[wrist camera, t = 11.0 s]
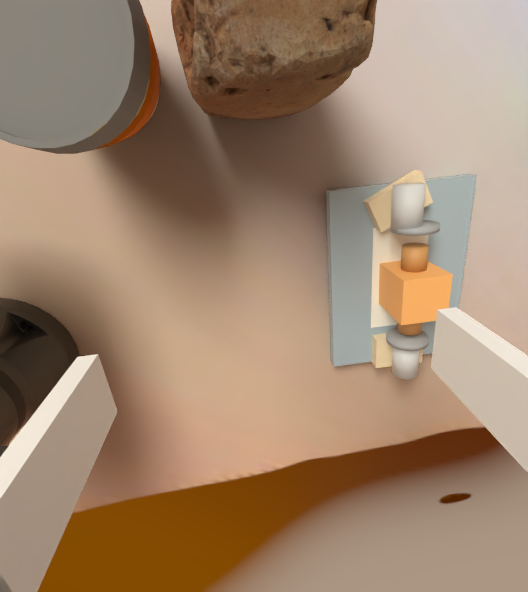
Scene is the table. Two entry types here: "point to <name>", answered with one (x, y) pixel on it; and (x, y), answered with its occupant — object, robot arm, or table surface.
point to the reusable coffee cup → (75, 73)
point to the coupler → (413, 288)
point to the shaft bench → (387, 248)
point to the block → (269, 52)
